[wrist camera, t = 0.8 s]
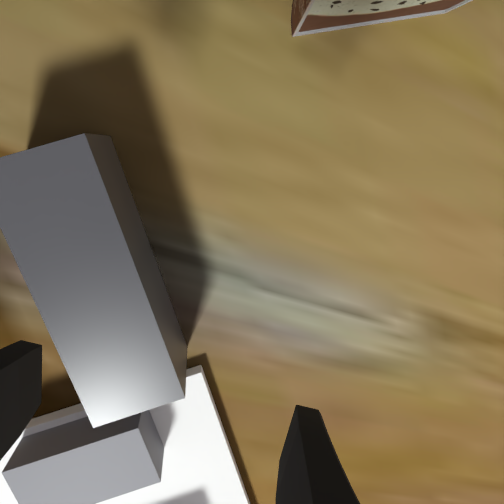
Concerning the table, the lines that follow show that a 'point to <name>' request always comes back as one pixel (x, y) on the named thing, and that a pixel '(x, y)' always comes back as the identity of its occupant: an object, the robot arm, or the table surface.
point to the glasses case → (93, 275)
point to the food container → (360, 13)
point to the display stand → (126, 456)
